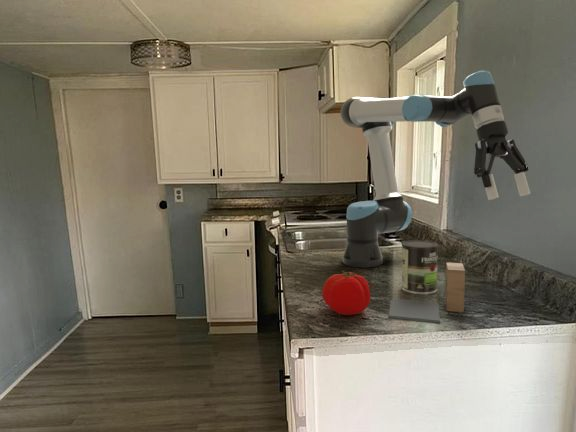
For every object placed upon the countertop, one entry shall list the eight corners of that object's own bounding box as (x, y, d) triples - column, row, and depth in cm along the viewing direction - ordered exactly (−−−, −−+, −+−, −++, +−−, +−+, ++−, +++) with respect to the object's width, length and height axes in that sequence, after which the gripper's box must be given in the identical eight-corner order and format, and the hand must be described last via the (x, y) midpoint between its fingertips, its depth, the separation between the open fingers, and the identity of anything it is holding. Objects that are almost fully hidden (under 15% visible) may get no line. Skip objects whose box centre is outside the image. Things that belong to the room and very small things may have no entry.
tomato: (371, 322, 92) (371, 281, 91) (321, 321, 94) (320, 280, 93) (369, 302, 105) (369, 265, 104) (324, 301, 107) (324, 265, 106)
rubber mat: (392, 300, 106) (392, 298, 106) (438, 304, 102) (438, 302, 102) (388, 317, 95) (388, 315, 95) (439, 322, 91) (439, 320, 91)
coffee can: (444, 290, 113) (446, 244, 111) (419, 297, 108) (420, 249, 106) (418, 281, 122) (419, 238, 120) (394, 287, 117) (394, 242, 115)
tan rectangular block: (445, 301, 105) (446, 262, 103) (461, 302, 103) (462, 263, 102) (446, 310, 98) (447, 269, 96) (463, 312, 97) (465, 270, 95)
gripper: (471, 118, 99) (491, 196, 96) (530, 120, 110) (550, 190, 106) (448, 130, 106) (467, 203, 102) (506, 130, 116) (524, 197, 113)
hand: (509, 197), depth 104 cm, fingers open, 13 cm apart
